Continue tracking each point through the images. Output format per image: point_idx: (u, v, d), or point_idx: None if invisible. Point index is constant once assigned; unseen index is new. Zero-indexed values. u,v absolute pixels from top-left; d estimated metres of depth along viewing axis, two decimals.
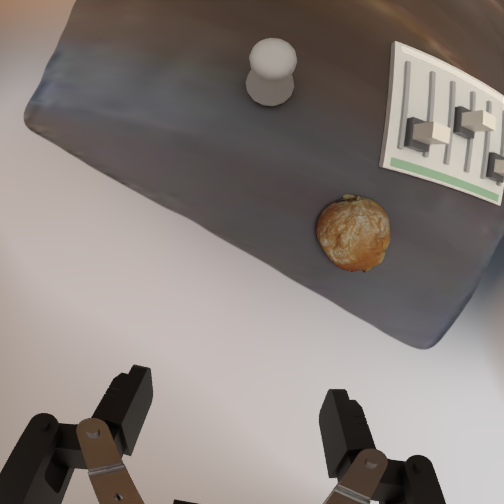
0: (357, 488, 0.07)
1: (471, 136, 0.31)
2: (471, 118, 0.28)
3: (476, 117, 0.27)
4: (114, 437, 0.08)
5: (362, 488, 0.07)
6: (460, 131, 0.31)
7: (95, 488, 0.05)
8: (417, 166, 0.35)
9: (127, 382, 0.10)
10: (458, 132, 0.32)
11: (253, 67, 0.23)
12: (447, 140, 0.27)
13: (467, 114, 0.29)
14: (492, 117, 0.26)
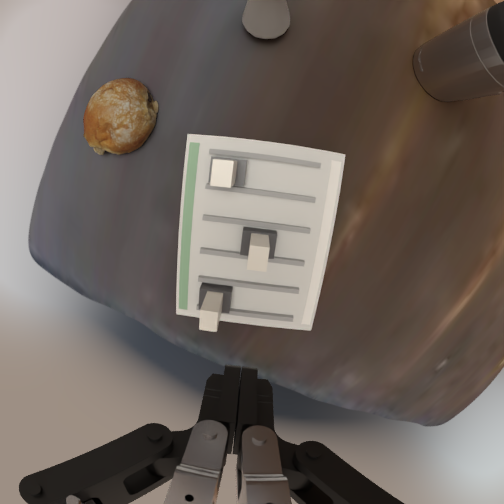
0: (263, 469, 0.07)
1: (241, 250, 0.35)
2: (259, 239, 0.33)
3: (259, 242, 0.31)
4: (228, 437, 0.09)
5: (268, 467, 0.08)
6: (243, 231, 0.35)
7: (173, 481, 0.06)
8: (194, 177, 0.35)
9: (226, 382, 0.12)
10: None
11: None
12: (214, 182, 0.28)
13: (265, 237, 0.34)
14: (263, 264, 0.31)
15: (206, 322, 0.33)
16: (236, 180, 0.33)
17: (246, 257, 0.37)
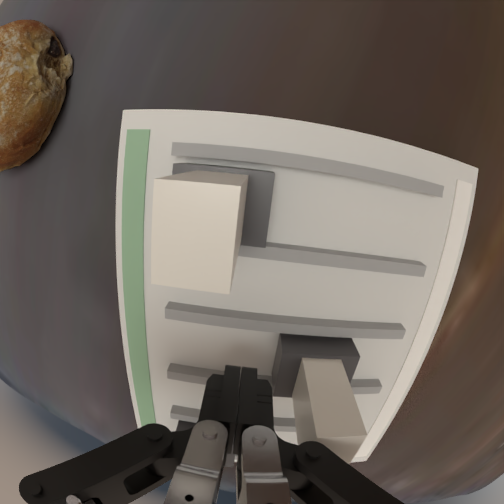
0: (263, 469, 0.07)
1: (277, 389, 0.14)
2: (329, 391, 0.11)
3: (336, 410, 0.10)
4: (228, 437, 0.09)
5: (268, 467, 0.08)
6: (284, 355, 0.14)
7: (173, 481, 0.06)
8: (139, 216, 0.14)
9: (226, 382, 0.12)
10: (281, 349, 0.14)
11: None
12: (164, 274, 0.07)
13: (339, 375, 0.13)
14: None
15: None
16: (245, 231, 0.12)
17: None
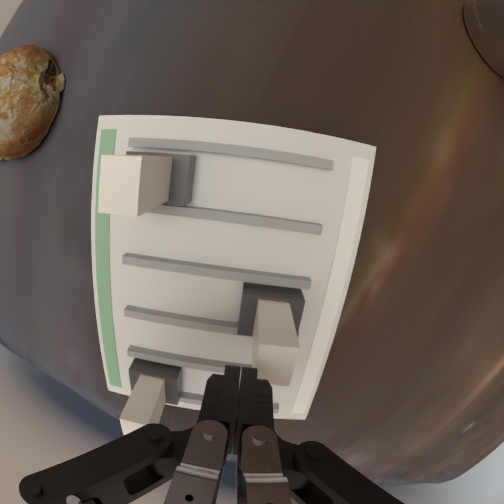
0: (263, 469, 0.07)
1: (240, 327, 0.19)
2: (275, 319, 0.17)
3: (277, 330, 0.15)
4: (228, 437, 0.09)
5: (268, 467, 0.08)
6: (244, 296, 0.19)
7: (173, 481, 0.06)
8: None
9: (226, 382, 0.12)
10: (242, 293, 0.19)
11: None
12: (104, 206, 0.12)
13: (285, 311, 0.18)
14: (285, 375, 0.15)
15: None
16: (171, 194, 0.17)
17: (198, 326, 0.21)
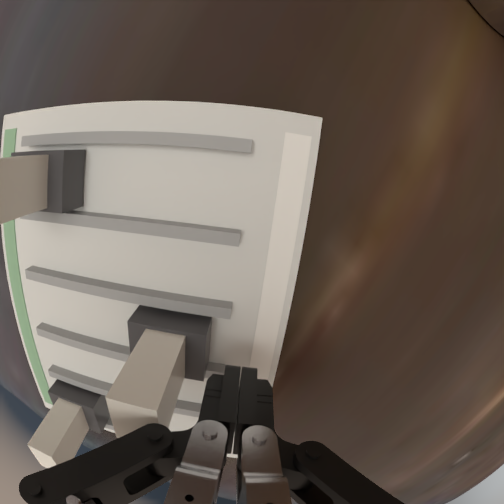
0: (263, 469, 0.07)
1: None
2: (149, 361, 0.11)
3: (142, 379, 0.10)
4: (228, 437, 0.09)
5: (268, 467, 0.08)
6: (130, 324, 0.14)
7: (173, 481, 0.06)
8: None
9: (226, 382, 0.12)
10: None
11: None
12: None
13: (171, 349, 0.12)
14: None
15: (44, 461, 0.12)
16: (49, 200, 0.12)
17: (107, 353, 0.16)
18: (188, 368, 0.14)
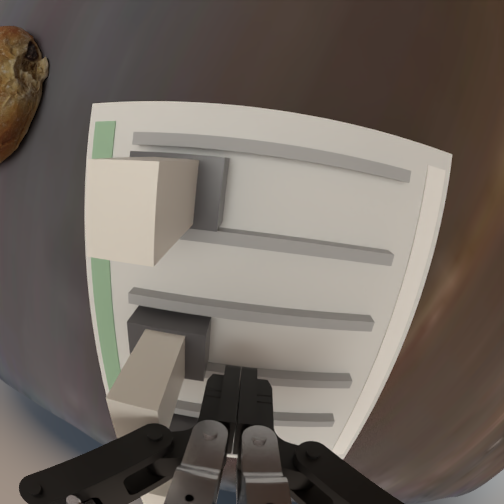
0: (263, 469, 0.07)
1: None
2: (149, 362, 0.11)
3: (142, 379, 0.10)
4: (228, 437, 0.09)
5: (268, 467, 0.08)
6: (129, 325, 0.14)
7: (173, 481, 0.06)
8: None
9: (226, 382, 0.12)
10: None
11: None
12: (97, 247, 0.07)
13: (171, 350, 0.12)
14: None
15: (154, 503, 0.12)
16: (197, 215, 0.12)
17: None
18: (188, 368, 0.14)
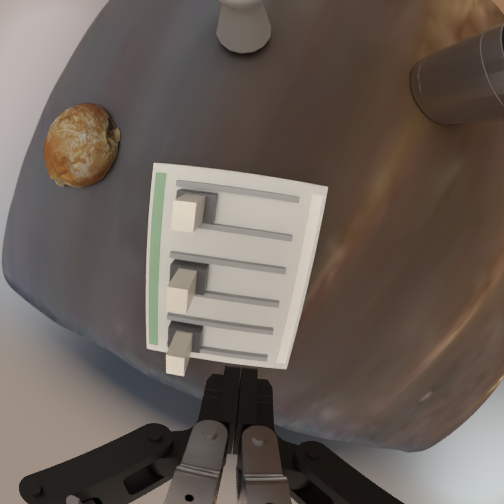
0: (263, 469, 0.07)
1: None
2: (182, 277, 0.30)
3: (180, 282, 0.28)
4: (228, 437, 0.09)
5: (268, 467, 0.08)
6: (171, 266, 0.32)
7: (173, 481, 0.06)
8: (160, 211, 0.32)
9: (226, 382, 0.12)
10: None
11: None
12: (175, 226, 0.25)
13: (191, 274, 0.31)
14: (183, 307, 0.28)
15: (173, 367, 0.30)
16: (204, 217, 0.30)
17: (216, 297, 0.34)
18: (197, 288, 0.32)
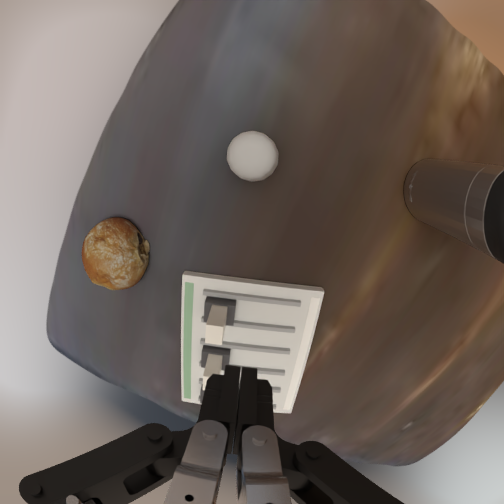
0: (263, 469, 0.07)
1: (202, 364, 0.41)
2: (213, 364, 0.38)
3: (212, 370, 0.37)
4: (228, 437, 0.09)
5: (268, 467, 0.08)
6: (202, 352, 0.41)
7: (173, 481, 0.06)
8: (190, 310, 0.41)
9: (226, 382, 0.12)
10: (202, 350, 0.41)
11: (239, 135, 0.24)
12: (208, 341, 0.34)
13: (218, 360, 0.39)
14: None
15: None
16: (227, 321, 0.39)
17: None
18: (222, 366, 0.41)
